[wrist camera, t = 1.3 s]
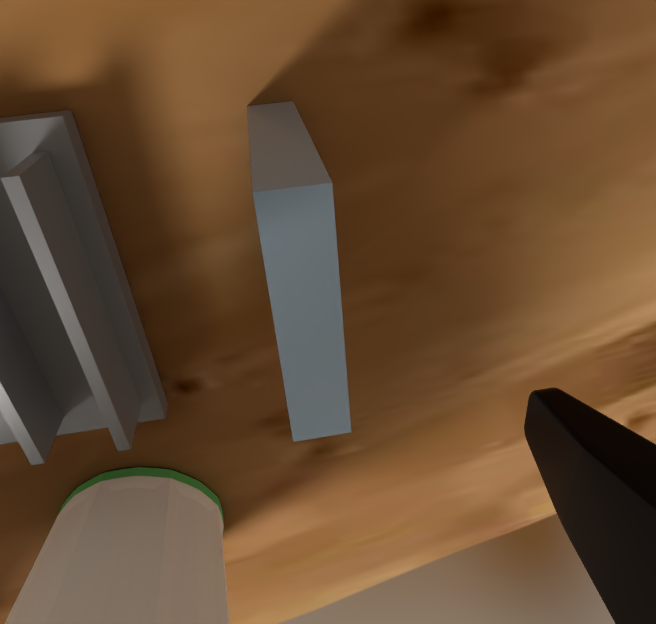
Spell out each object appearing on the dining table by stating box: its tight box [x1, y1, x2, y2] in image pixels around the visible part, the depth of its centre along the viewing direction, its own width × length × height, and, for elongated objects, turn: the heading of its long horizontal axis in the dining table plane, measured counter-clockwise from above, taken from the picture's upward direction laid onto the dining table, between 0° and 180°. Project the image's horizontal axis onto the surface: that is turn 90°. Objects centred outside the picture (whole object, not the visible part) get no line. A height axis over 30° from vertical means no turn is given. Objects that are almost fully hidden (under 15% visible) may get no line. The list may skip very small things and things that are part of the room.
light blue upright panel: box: [247, 101, 351, 442], centre depth 16 cm, size 7×2×9 cm, turn 4°
